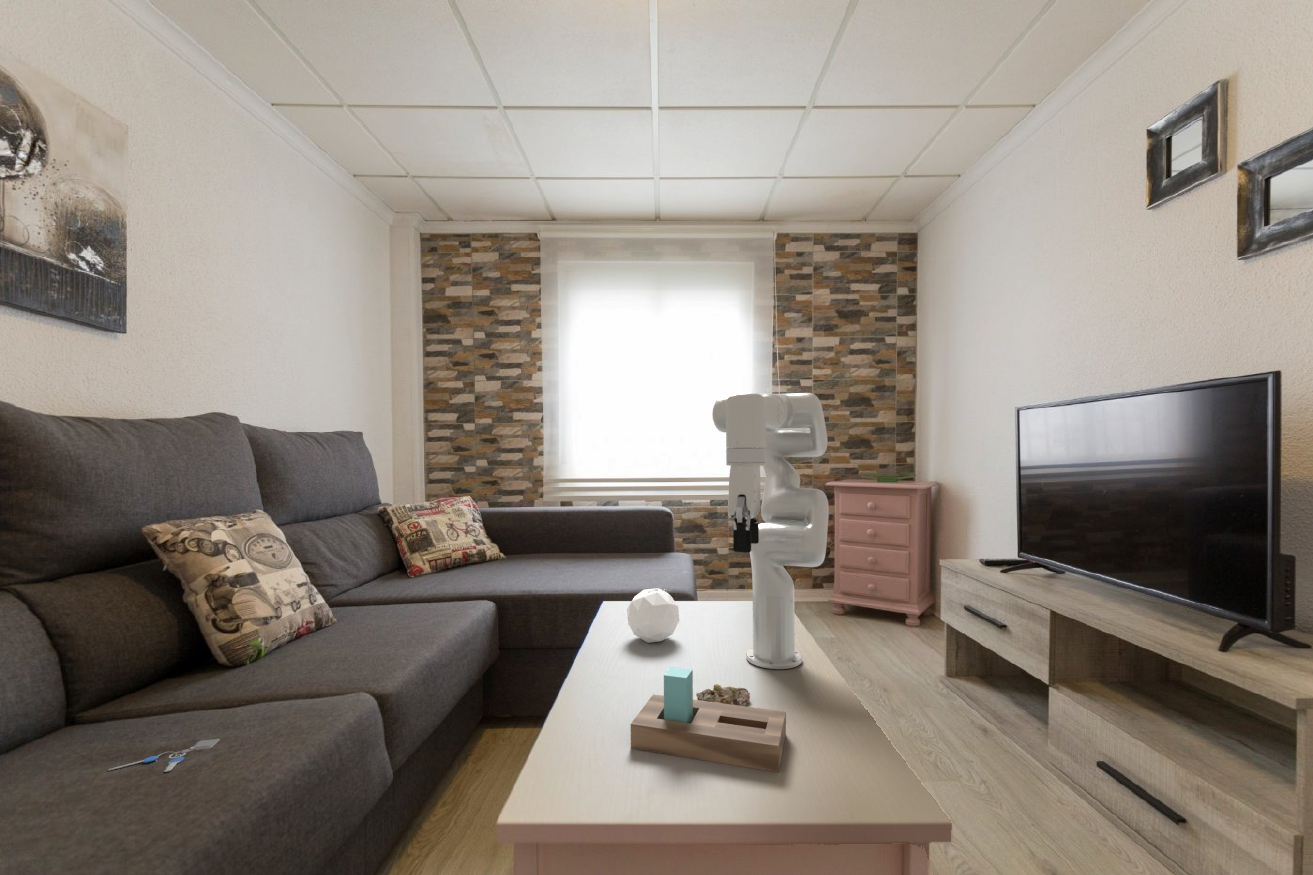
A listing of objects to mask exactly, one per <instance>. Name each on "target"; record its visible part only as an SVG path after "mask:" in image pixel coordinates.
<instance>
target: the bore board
mask: <svg viewBox="0 0 1313 875" xmlns="http://www.w3.org/2000/svg"><path fill="white" fill-rule="evenodd" d="M786 736H787V712H786V711H783V710H775V709H767V708H760V707H752V706H747V705H746V706H739V705H731V704H723V703H716V702H708V701H700V700H697V699H693V721H692V723H691V724H690V723H683V722H676V721H669V720H664V695H661V694H656V693H655V694H654V693H653V694H652V695H651V696H650V698H649V699H648V700H647V702H646V703H645V704H644V705H643V707H642V708H641V710H639V712H638V713H637V715H636V716H635V718H633V720H632V721H631V723H630V749H633V750H639V751H645V752H651V753H656V754H657V753H658V754H663V755H669V756H675V757H681V758H688V759H693V760H701V761H707V762H713V763H719V764H726V765H729V766H737V767H744V768H750V769H754V770H755V769H756V770H762V771H769V772H772V773H773V772H775V773H779V772H780V769H781V768H780V767H781V762H782V757H783V751H784V747H785V741H786V738H787V737H786Z"/></svg>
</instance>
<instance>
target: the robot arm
mask: <svg viewBox="0 0 1313 875" xmlns="http://www.w3.org/2000/svg"><path fill="white" fill-rule="evenodd" d="M712 421H713V424H714V426H715V427H716V429H717V430H718V431H719V432H721V433H725V434H726V435H725V436H726V437H725V438H726V439H725V444H726V445H725V446H726V451H725V454H726V456H725V457H726V459H725V461H726V464H725V465H726V466H728V467H729V466H730V470H729V478H728V501H727V502H728V504H727V506H728V508H727V516H728V517H729V518H730V519H733V518H734V521H733V530H732V531H733V533H732V534H733V538H732V539H733V540H732V542H733V545H732V546H733V547H732V548H733V552H736V553H749V556H750V558H749V559H750V562H751V574H752V575H751V577H752V648H749V649H748V650H747V651H746V656H745V657H746V660H747V661H748V662H749V663H750V664H751V665H753V666H757V667H760V668H764V669H770V670H788V669H792V668H796V667H798V666H799V665H801V664H802V662H803V660H802V659H803V658H802V655H801V653H800V652H798V651H797V650H796V649H795V646H796V645H795V643H796V642H795V639H796V638H795V634H796V633H795V629H796V628H795V585H794V584H795V582H794V581H793V579H792V577H791V575H790V573H789V572H788V570H786V568H785V567H787V566H790V567H805V568H817V567H819V566H821V565H822V564H823V563H824V561H825V558H826V553H827V542H828V528H829V518H830V517H829V516H830V514H829V512H830V510H829V508H830V507H829V500H828V498H827V495H826V493H825V492H824V491H823V490H821V489H818V488H811V487H800V486H801V476H800V474H799V472H798V471H797V469H796V468H795V467H794V466H793V465H792V464H791V463H790V462H789V461H787V460H786V459H785V458H817V457H822V456H823V455H824V454H825V453H826V451H827V448H828V432H827V427H826V426H827V425H826V420H825V415H824V410H823V406H822V404H821V401H820V399H819V397H818V396H817V395H816V394H814V393H812V392H799V393H795V392H794V393H770V392H769V393H758V392H738V393H737V392H736V393H731V394H729V395H726V396H725V395H723V396H721V397H719V398H718V399H716V401H715V403H714V405H713V407H712ZM761 466H763V470H764V473H765V481H764V482H765V483H764V487H763V488H764V489H763V494H762V500H761ZM759 514H760V515H761V518H762V520H763V521H764V522H761V523H759V517H758V516H759ZM784 566H785V567H784Z"/></svg>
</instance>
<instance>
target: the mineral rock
mask: <svg viewBox="0 0 1313 875" xmlns="http://www.w3.org/2000/svg"><path fill="white" fill-rule="evenodd" d="M750 694H751V693H750V692H749V690H748V689H747V688H745V687H734V686H726V687H725V686H724V687H722V686H721V685H720V684H718V683H716V684H713V688H712V689H710V688H706V689H705V690H702V691H700V692H696V694H695V695H696V697H697V698H696V700H700V701H708V702H716V703H723V704H731V705H739V706H746V707H747V704H749V703H750V702H751V695H750Z"/></svg>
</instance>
